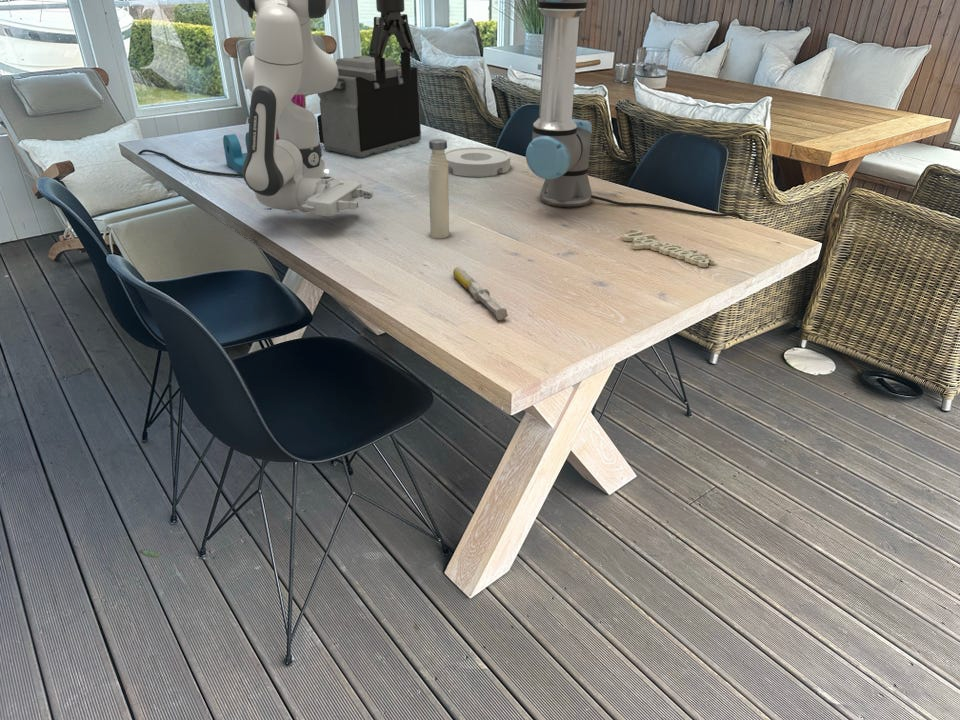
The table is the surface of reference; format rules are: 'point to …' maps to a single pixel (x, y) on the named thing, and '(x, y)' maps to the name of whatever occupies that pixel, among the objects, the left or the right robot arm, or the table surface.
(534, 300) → the table surface
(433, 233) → the bottle
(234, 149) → the camera mount
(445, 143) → the cap
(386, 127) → the cooler box
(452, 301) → the table surface
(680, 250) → the decorative sign
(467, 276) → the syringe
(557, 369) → the table surface
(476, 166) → the ashtray
